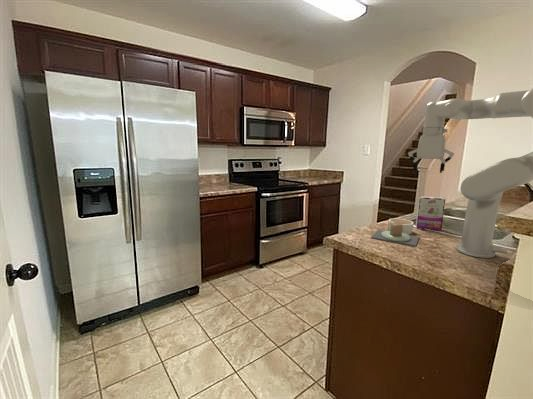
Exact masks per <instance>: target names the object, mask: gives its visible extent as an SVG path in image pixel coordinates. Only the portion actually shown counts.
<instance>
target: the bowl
mask: <svg viewBox="0 0 533 399" xmlns="http://www.w3.org/2000/svg"><path fill="white" fill-rule="evenodd" d="M391 223H399V224H402V225H403V230H402V233H406V234H408V235H412V234H413V231H414V224H415V222H414V221H412V220H410V219H405V218H389V219H388V222H387V231H390V227H391Z"/></svg>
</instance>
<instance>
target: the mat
mask: <svg viewBox="0 0 533 399" xmlns="http://www.w3.org/2000/svg"><path fill="white" fill-rule="evenodd" d="M384 231H385V230H380V229H377V230H376V231H375V232H374V233H373V234H372V236H371V239H373V240H379V241H383V242H384V241H385V242H389V243H394V244H398V245H404V246H410V247H414V248H416V247H417V246H418V245H417V244H418V242H419V240H418V239H420V236H417V235H416V236H415V235H412V234H409V236H410V240H409V241H405V242H398V241H392V240H388V239H385V238H383V237H382V236H381V234H382V232H384Z"/></svg>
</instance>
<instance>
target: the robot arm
mask: <svg viewBox="0 0 533 399" xmlns="http://www.w3.org/2000/svg"><path fill="white" fill-rule="evenodd" d="M523 117H530V118H532V119H533V88H531V89H530V90H521V91H509V92H507V91H506V92H501V93H499V94H497V95H494V96H493V97H490V98H482V99H472V100H471V99H470V100H466V99H462V98H450V99H447V100H442V101H441V100H440V101H430V102H429V103H427V104H426V106H425V112H424V120H423V128H422V135H420V137H419V141H418V144H417V145H418V146H417V148H416V149H413V150H411V151H409V152H408V153H407V155H408V157H409V159H410V160H411V161H412V162H413V166H412V169H413V171H414V172H417V171H418V167H419V162H418V161H419V160H420V159H430V160H431V159H433V160H439V161H440V162H441V163H440V167H439V173H441V174H442V173H443V172H444V171H445V167H446V165H445V164H446V163H448V162H449V161H451V159H452V158H453V157H454V155H455V153H454V152H452V151H451V150H449V149H446V135H445V133H448V131H449V129H447V128H445V123H446V121H445V120H446V119H451V120H452V119H453V120H463V121H464V120H479V119H506V118H507V119H508V118H523ZM415 153H416V158H415V157H414V156H413V154H415ZM445 154H447V155H448V156H447V158H444V157H445ZM532 181H533V151H531V152H529V153H527V154H524V155H522V156H519V157H510V158H506V159H503V160H500V161H498V162H496V163H494V164H492V165H490V166H488V167H485V168H484V169H481V170H479V171H477V172H475V173H473V174H471V175H469V176H467V177H466V178H464V179H463V180H462V182H461V184H460V192H461V194H462V196H464V197H465V198H466V199H468V201H467V204H466V210H465V215H464V216H465V217H464V220H463V221H464V222H463V228H462V235H461V240H460V243H458V244H455V250H456V251H457V252H459V253H462V254H464V255H467V256H470V257H474V258H481V259H491V258H494V257H496V253H500V254H504V255H507V254H508V248H504V247H503V246H499V245H498V246H497V245H495V244H493V238H494V234H495V228H496V225H497V224H496V223H497V218H498V215H499V214H498V213H499V208H500V204H501V200H502V198H503V196H504V192H506V191H508V190H512V189H513V188H514V189H515V188H516V187H519V186H522V185H526V184H528V183H530V182H532Z"/></svg>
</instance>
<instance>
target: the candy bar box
mask: <svg viewBox="0 0 533 399" xmlns="http://www.w3.org/2000/svg"><path fill="white" fill-rule="evenodd" d="M417 198H418V200H417V210H416V219H415V227H416V229H419V228H420V230H428V229H430V231H431V230H432V231H440V232H441V231H442V228H443V220H444V213H445V204H446V198H444V197H443V196H442V197H441V196H428V195H427V196H425V195H424V196H423V195H418V197H417Z"/></svg>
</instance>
